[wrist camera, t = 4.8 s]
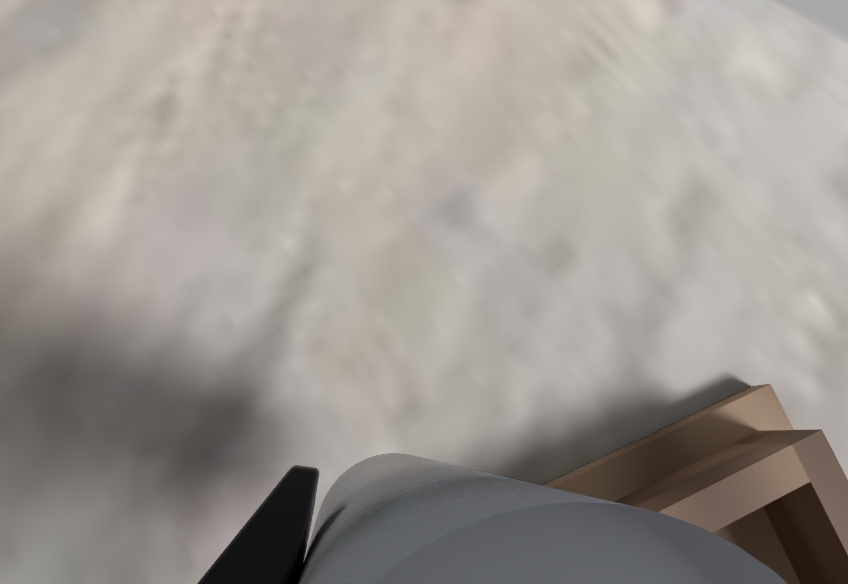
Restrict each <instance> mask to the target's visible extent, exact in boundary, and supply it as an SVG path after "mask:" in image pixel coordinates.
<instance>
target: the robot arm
mask: <svg viewBox="0 0 848 584" xmlns="http://www.w3.org/2000/svg"><path fill="white" fill-rule="evenodd" d="M318 478H319V471H318V469H317V468H313V467H306V466H299V465H295V466H293V467H292V468H291V469H290V470H289V471H288V472H287V473H286V475H285V476H284V477H283V478H282V480H281V481H280V482H279V483H278V484H277V486H276V487H275V488H274V489H273V491H272V492H271V493H270V494H269V496H268V497H267V498H266V499H265V501H264V502H263V503H262V504H261V506H260V507H259V508H258V509H257V510H256V512H255V513H254V514H253V515H252V517H251V518H250V519H249V520H248V522H247V523H246V524H245V525H244V527H243V528H242V529H241V530H240V532H239V533H238V534H237V535H236V536H235V538H234V539H233V540H232V541H231V543H230V544H229V545H228V546H227V548H226V549H225V550H224V551H223V553H222V554H221V555H220V556H219V557H218V559H217V560H216V561H215V562H214V564H213V565H212V566H211V567H210V569H209V570H208V571H207V572H206V574H205V575H204V576H203V577H202V579H201V580H200V581H199V582H198V583H197V584H297V582H298V579H299V576H300V573H301V570H302V566H303V563H304V558H305V553H306V547H307V542H308V537H309V531H310V526H311V521H312V515H313V510H314V504H315V497H316V491H317V484H318Z"/></svg>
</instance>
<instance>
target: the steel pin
mask: <svg viewBox="0 0 848 584" xmlns="http://www.w3.org/2000/svg"><path fill="white" fill-rule="evenodd" d="M297 584H788V583H787V582H785V581H784V580H783V579H782V578H781V577H780V576H779V575H778V574H776V573H775V572H774V571H773V570H772V569H770V568H769V567H767V566H766V565H764V564H763V563H761V562H760V561H759V560H757V559H756V558H754V557H753V556H751V555H750V554H748V553H747V552H745V551H744V550H742V549H741V548H740V547H738V546H737V545H735V544H733V543H731V542H729V541H727V540H725V539H723V538H721V537H719V536H717V535H715V534H713V533H711V532H709V531H707V530H705V529H703V528H701V527H699V526H697V525H694V524H691V523H688V522H685V521H682V520H679V519H677V518H674V517H671V516H668V515H665V514H662V513H660V512H655V511H651V510H647V509H642V508H638V507H633V506H629V505H625V504H620V503H616V502H612V501H607V500H603V499H599V498H594V497H590V496H586V495H581V494H577V493H573V492H568V491H564V490H560V489H555V488H551V487H547V486H542V485H538V484H534V483H529V482H525V481H521V480H516V479H512V478H508V477H503V476H499V475H495V474H490V473H486V472H482V471H477V470H473V469H469V468H464V467H460V466H456V465H451V464H447V463H442V462H438V461H434V460H429V459H425V458H421V457H416V456H412V455H407V454H398V453H390V454H382V455H377V456H373V457H370V458H367V459H365V460H363V461H361V462H359V463H357V464H355V465H354V466H352V467H351V468H349V469H348V470H347V471H346V472H345V473H343V474H342V475H341V476H340V477H339V478H338V479H337V480H336V482H335V483H334V484H333V485H332V487H331V488H330V490H329V491H328V493H327V494H326V496H325V498H324V500H323V502H322V505H321V507H320V510H319V513H318V516H317V520H316V523H315V526H314V529H313V533H312V536H311V539H310V543H309V546H308V549H307V553H306V556H305V559H304V563H303V566H302V570H301V573H300V576H299V579H298V582H297Z"/></svg>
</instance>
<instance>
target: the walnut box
mask: <svg viewBox="0 0 848 584" xmlns="http://www.w3.org/2000/svg"><path fill="white" fill-rule="evenodd" d="M542 486H547V487H551V488H555V489H560V490H564V491H568V492H573V493H577V494H581V495H586V496H590V497H594V498H599V499H603V500H607V501H612V502H616V503H620V504H625V505H629V506H633V507H638V508H642V509H647V510H651V511H655V512H660V513H662V514H665V515H668V516H671V517H674V518H677V519H679V520H682V521H685V522H688V523H691V524H694V525H697V526H699V527H701V528H703V529H705V530H707V531H709V532H711V533H713V534H715V535H717V536H719V537H721V538H723V539H725V540H727V541H729V542H731V543H733V544H735V545H737V546H738V547H740V548H741V549H742V550H744V551H745V552H747V553H748V554H750V555H751V556H753V557H754V558H756V559H757V560H759V561H760V562H761V563H763V564H764V565H766V566H767V567H769V568H770V569H772V570H773V571H774V572H775V573H776V574H778V575H779V576H780V577H781V578H782V579H783V580H784V581H785V582H787V583H788V584H848V480H847V478H846V476H845V474H844V472H843V470H842V468H841V466H840V464H839V462H838V460H837V458H836V456H835V454H834V453H833V451H832V449H831V447H830V445H829V443H828V441H827V439H826V437H825V435H824V433H823V431H822V430H793V428H792V426H791V424H790V422H789V420H788V418H787V416H786V414H785V412H784V410H783V408H782V406H781V404H780V402H779V400H778V398H777V396H776V394H775V392H774V390H773V388H772V386H771V384H766V385H758V386H752V387H750V388H748V389H746V390H744V391H741V392H739V393H737V394H735V395H733V396H731V397H729V398H727V399H724V400H722V401H720V402H718V403H716V404H714V405H712V406H710V407H707V408H705V409H703V410H701V411H699V412H697V413H695V414H693V415H690V416H688V417H686V418H684V419H682V420H680V421H678V422H676V423H673V424H671V425H669V426H667V427H665V428H663V429H661V430H659V431H656V432H654V433H652V434H650V435H648V436H646V437H644V438H642V439H640V440H637V441H635V442H633V443H631V444H629V445H627V446H625V447H623V448H620V449H618V450H616V451H614V452H612V453H610V454H608V455H606V456H603V457H601V458H599V459H597V460H595V461H593V462H591V463H589V464H586V465H584V466H582V467H580V468H578V469H576V470H574V471H572V472H569V473H567V474H565V475H563V476H561V477H559V478H557V479H555V480H552V481H550V482H548V483H546V484H544V485H542Z"/></svg>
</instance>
